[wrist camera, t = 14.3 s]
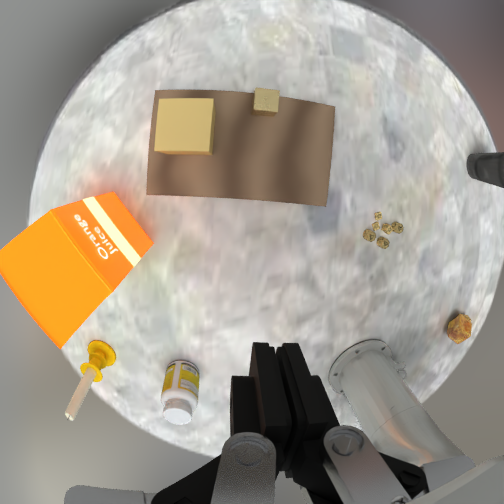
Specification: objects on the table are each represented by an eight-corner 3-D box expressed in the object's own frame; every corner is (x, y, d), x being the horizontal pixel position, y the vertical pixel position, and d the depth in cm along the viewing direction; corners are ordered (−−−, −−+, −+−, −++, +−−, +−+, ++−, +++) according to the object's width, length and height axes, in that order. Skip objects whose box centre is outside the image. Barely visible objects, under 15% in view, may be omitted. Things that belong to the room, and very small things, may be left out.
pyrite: (461, 303, 43) (449, 313, 46) (459, 326, 39) (446, 336, 42) (474, 314, 42) (462, 324, 45) (473, 338, 37) (460, 347, 41)
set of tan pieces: (397, 224, 37) (405, 227, 35) (380, 251, 38) (386, 255, 36) (377, 205, 35) (384, 207, 34) (358, 234, 36) (364, 237, 35)
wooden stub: (274, 97, 28) (279, 90, 25) (273, 117, 29) (277, 112, 26) (252, 94, 28) (255, 87, 25) (250, 114, 29) (253, 109, 26)
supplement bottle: (170, 383, 40) (163, 427, 31) (163, 359, 39) (152, 404, 30) (202, 382, 41) (199, 427, 32) (197, 358, 39) (192, 404, 30)
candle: (89, 358, 38) (55, 422, 23) (88, 335, 37) (47, 400, 22) (116, 368, 39) (88, 437, 24) (116, 345, 37) (82, 416, 23)
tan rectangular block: (215, 112, 28) (213, 98, 22) (212, 155, 30) (209, 151, 24) (171, 112, 28) (159, 98, 21) (168, 154, 29) (154, 150, 23)
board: (331, 108, 30) (335, 106, 29) (322, 205, 34) (326, 206, 33) (157, 92, 28) (155, 90, 27) (149, 193, 31) (146, 194, 30)
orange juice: (114, 190, 31) (8, 222, 12) (154, 243, 33) (87, 327, 14) (77, 228, 32) (-23, 285, 13) (116, 276, 34) (43, 368, 15)
